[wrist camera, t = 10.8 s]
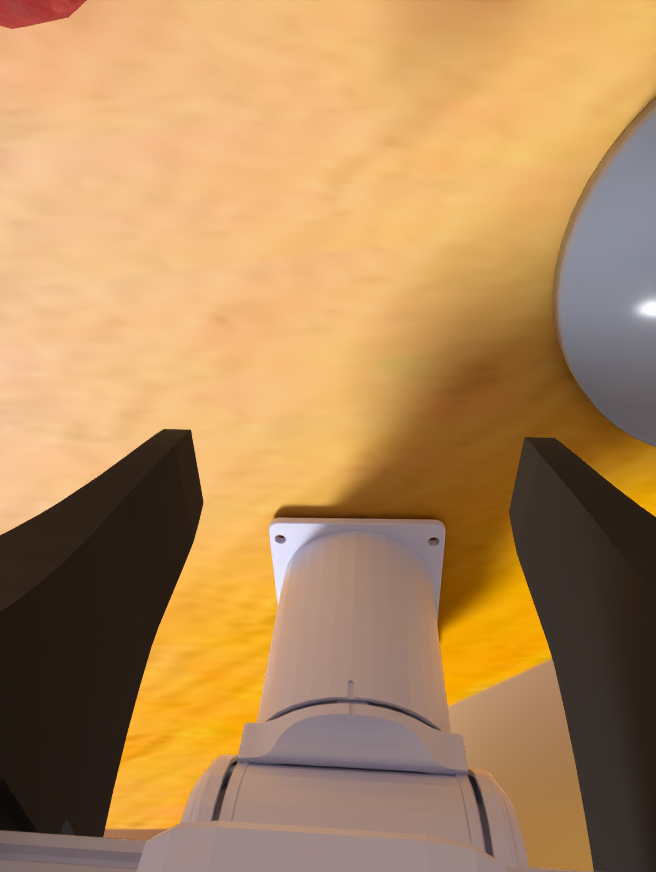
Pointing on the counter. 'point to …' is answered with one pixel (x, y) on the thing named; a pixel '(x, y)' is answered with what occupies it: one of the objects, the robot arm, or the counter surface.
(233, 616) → the counter surface
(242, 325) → the counter surface
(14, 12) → the onion
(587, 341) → the plate
